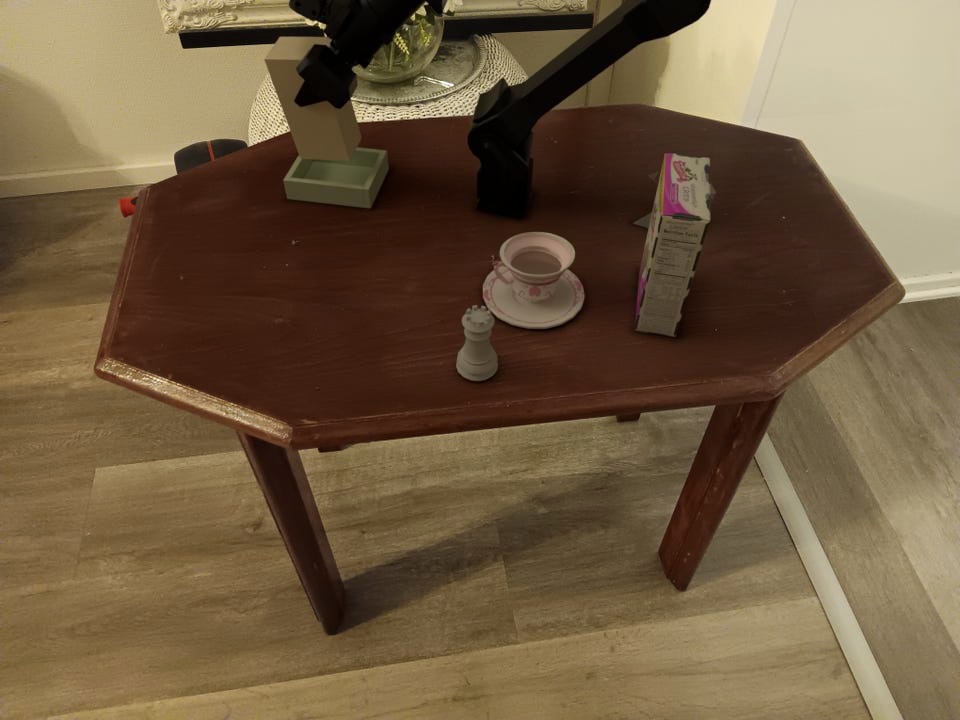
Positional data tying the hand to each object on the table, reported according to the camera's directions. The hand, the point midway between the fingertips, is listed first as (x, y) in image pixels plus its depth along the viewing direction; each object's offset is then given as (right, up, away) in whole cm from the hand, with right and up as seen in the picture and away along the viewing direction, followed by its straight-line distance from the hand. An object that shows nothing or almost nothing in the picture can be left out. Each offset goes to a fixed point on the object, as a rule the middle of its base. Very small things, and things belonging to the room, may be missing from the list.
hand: (304, 92), depth 89 cm
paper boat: (+47, -14, +7) cm, 50 cm away
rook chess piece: (+21, -34, -12) cm, 42 cm away
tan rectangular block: (+2, -5, +6) cm, 8 cm away
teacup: (+28, -26, -4) cm, 38 cm away
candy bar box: (+42, -27, -5) cm, 50 cm away
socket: (+2, -9, +10) cm, 14 cm away
